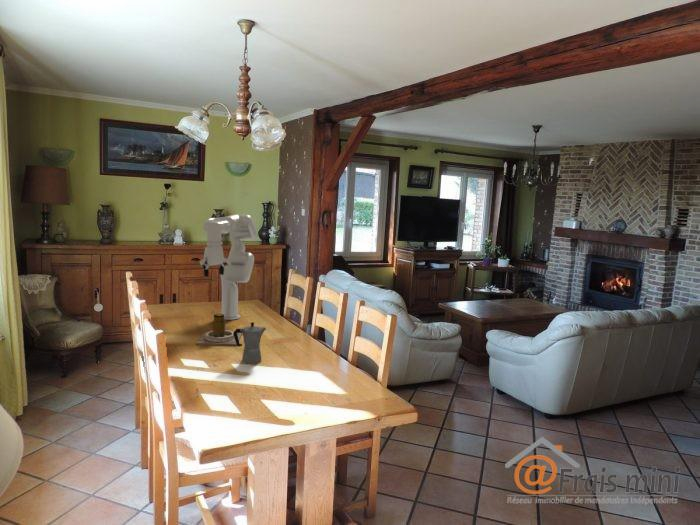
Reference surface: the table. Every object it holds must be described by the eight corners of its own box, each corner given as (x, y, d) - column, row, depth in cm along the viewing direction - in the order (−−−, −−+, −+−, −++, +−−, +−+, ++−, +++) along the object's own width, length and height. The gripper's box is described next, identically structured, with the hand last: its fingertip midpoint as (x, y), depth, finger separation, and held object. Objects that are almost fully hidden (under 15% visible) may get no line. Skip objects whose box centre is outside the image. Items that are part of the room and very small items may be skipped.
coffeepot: (262, 355, 234) (262, 318, 231) (268, 361, 226) (269, 323, 223) (229, 359, 226) (230, 321, 224) (235, 366, 218) (236, 326, 215)
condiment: (216, 334, 260) (216, 312, 258) (230, 336, 258) (231, 313, 256) (209, 338, 253) (209, 315, 251) (224, 340, 251) (224, 317, 249)
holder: (204, 333, 264) (204, 327, 263) (242, 334, 266) (242, 328, 265) (196, 344, 244) (196, 339, 244) (236, 345, 246) (237, 340, 245)
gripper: (223, 242, 275) (223, 272, 277) (196, 244, 262) (196, 276, 264) (231, 244, 270) (231, 274, 273) (204, 246, 257) (204, 278, 260)
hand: (214, 275), depth 269 cm, fingers open, 9 cm apart
